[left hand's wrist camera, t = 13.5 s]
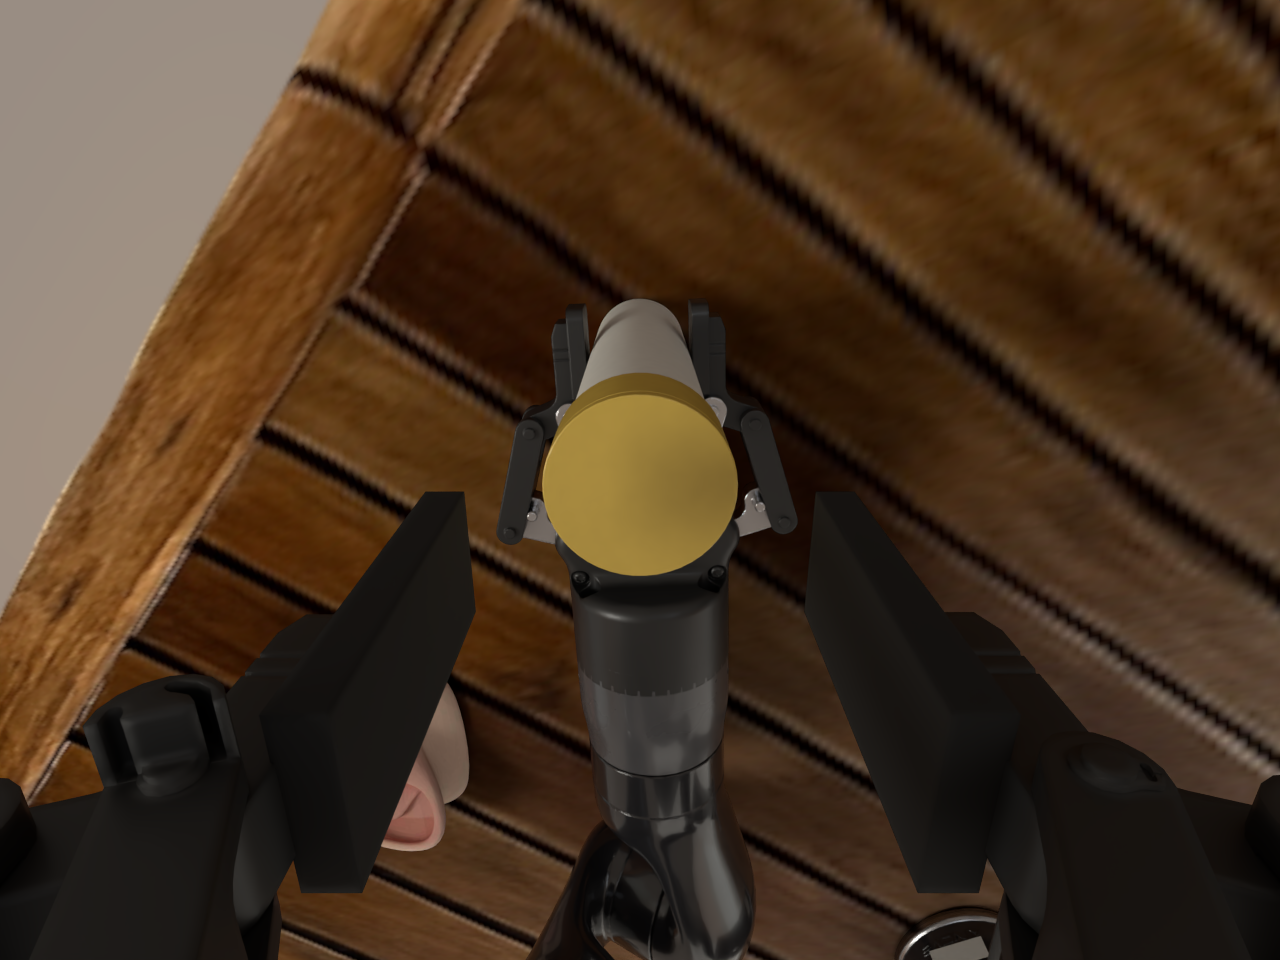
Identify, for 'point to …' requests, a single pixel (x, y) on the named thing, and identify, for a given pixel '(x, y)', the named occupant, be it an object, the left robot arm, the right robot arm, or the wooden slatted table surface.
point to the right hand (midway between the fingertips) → (636, 305)
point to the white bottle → (640, 345)
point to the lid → (640, 475)
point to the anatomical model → (432, 781)
